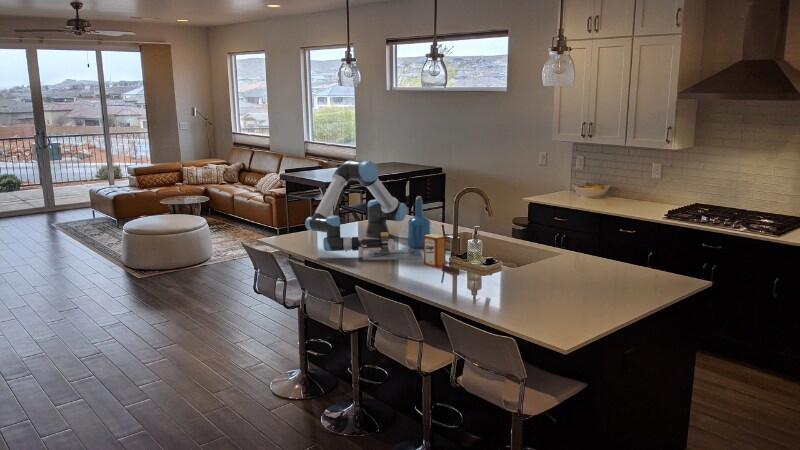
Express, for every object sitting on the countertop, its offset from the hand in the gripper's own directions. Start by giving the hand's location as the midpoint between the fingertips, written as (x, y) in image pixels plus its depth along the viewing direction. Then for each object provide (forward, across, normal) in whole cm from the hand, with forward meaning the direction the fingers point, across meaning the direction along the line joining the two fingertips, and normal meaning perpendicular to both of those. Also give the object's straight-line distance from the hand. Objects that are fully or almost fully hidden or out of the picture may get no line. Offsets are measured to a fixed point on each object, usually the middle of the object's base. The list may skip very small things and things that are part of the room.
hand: (393, 242), depth 354 cm
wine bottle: (+16, -21, -8) cm, 27 cm away
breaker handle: (-5, 0, -6) cm, 7 cm away
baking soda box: (+21, +21, -8) cm, 31 cm away
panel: (-1, 0, -8) cm, 8 cm away
